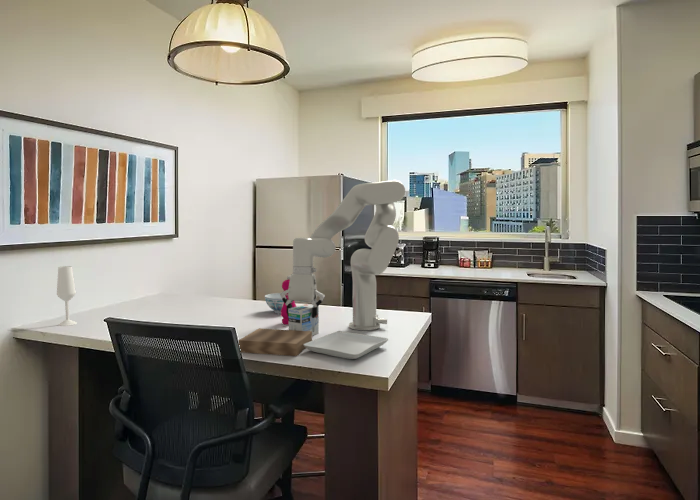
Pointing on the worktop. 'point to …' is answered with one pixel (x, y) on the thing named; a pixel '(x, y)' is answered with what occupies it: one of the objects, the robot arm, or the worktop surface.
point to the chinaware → (274, 302)
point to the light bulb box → (303, 319)
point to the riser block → (275, 342)
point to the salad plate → (345, 344)
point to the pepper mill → (283, 311)
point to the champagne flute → (66, 290)
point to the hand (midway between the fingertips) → (301, 316)
